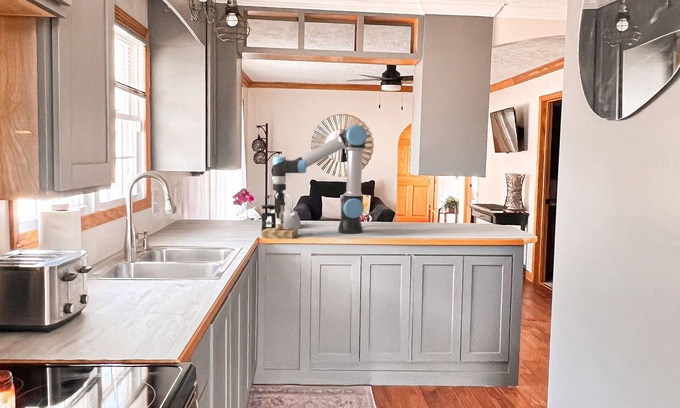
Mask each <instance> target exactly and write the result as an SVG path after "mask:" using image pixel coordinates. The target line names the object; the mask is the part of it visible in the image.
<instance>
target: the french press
mask: <svg viewBox="0 0 680 408" xmlns="http://www.w3.org/2000/svg"><path fill="white" fill-rule="evenodd" d="M266 197H267V204H262V205H261V209H262V210H263V209H264V210H265V209H267V210H268V212H264V213H263V212H262V213H261V214H260V215H261V232H260V233H261V235H262V231H263V230H265V229H267V228H276V223H275V221H276V213H271V212H270V210H271V211H273V210H274V209H275V204H270V203H269V201H270V200H269V199H270V197H271V195H270V194H269V195H268V194H267V195H266ZM269 217H271V222H269V221H268V222H267V218H268V220H269ZM270 224H272V227H266V225H270Z"/></svg>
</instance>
